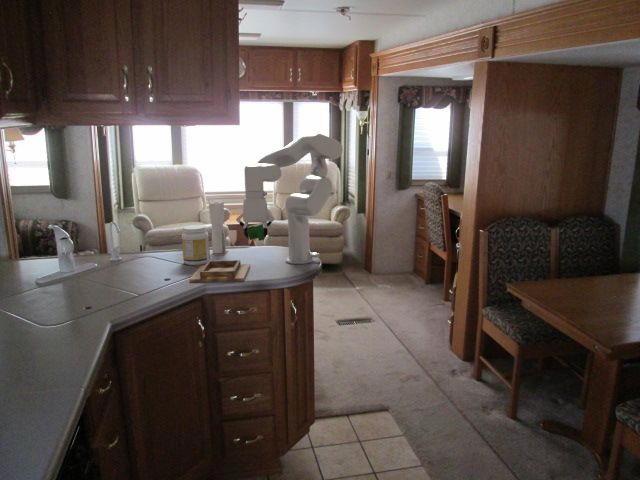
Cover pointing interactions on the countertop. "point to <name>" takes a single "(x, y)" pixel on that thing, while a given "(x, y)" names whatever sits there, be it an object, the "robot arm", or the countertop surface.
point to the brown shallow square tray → (221, 271)
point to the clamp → (256, 232)
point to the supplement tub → (195, 245)
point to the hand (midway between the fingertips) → (256, 236)
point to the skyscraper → (217, 227)
